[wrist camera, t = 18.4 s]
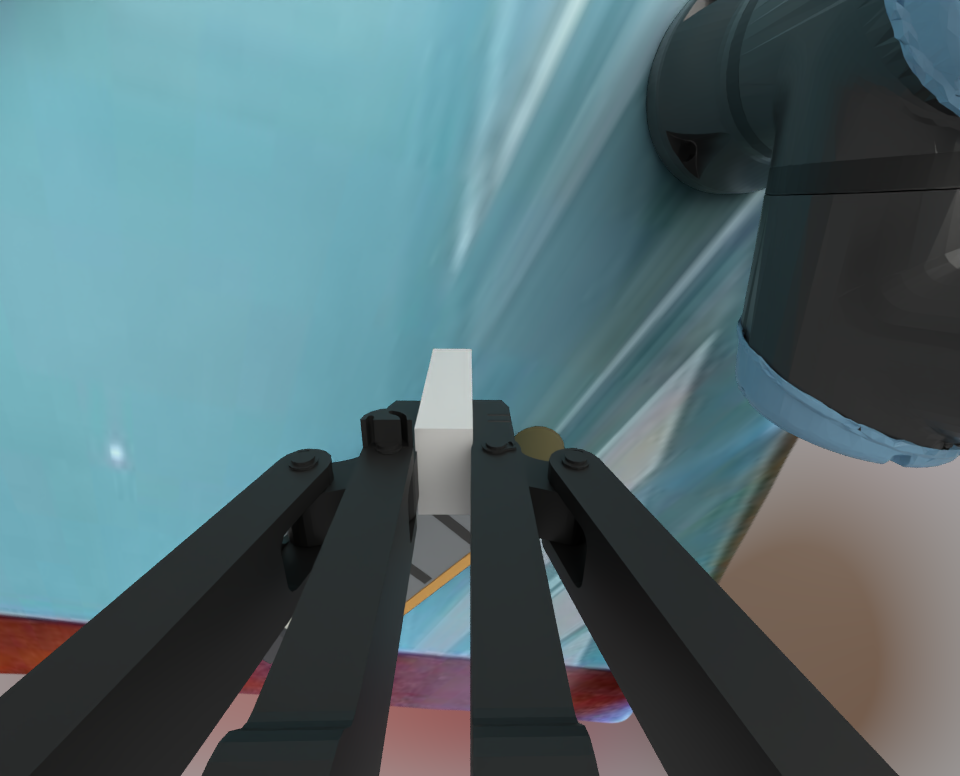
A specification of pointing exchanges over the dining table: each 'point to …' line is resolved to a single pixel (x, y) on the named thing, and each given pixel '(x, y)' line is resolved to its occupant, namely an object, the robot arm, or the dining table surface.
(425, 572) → the panel
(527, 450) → the cork
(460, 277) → the dining table surface
